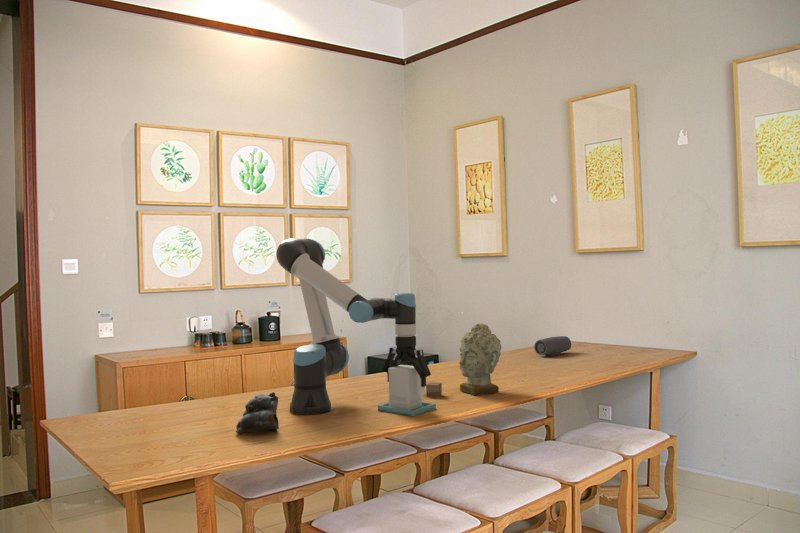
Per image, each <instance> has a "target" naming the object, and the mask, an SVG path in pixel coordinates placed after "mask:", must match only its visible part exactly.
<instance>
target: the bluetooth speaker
mask: <svg viewBox="0 0 800 533" xmlns="http://www.w3.org/2000/svg"><path fill="white" fill-rule="evenodd" d="M571 348H572V342H571V339H570V337H568V336H566V335H565V336H563V335H561V336H559V335H558V336H551V337H546V338H541V339H538V340H537V341H535V342H534V351H535V353H536V354H537V355H539V356H546V357H554V356H559V355H561V353H564V352H568V351H569V350H571Z"/></svg>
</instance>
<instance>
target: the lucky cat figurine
mask: <svg viewBox="0 0 800 533" xmlns="http://www.w3.org/2000/svg"><path fill="white" fill-rule="evenodd" d="M278 405H279V396H277V395H276V393H275V392H271V393H269V394H266V393H265V394H258V395H255V396H254V397H253V398H252V399H250V400H249V401H248V402H247V403H246V404H245V411H243V414H242V417H241V418H240V419H239V421H238V422H237V424H236V430H235V433H237V435H240V434H241V433H246V432H256V431H257V432H258V431H274V432H275V431H277V432H278V430H279V428H280V427H279V419H278V414H277V412H278V411H277V410H278Z"/></svg>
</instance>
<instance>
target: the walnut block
mask: <svg viewBox="0 0 800 533" xmlns="http://www.w3.org/2000/svg"><path fill="white" fill-rule="evenodd" d="M442 386H443V385H442V382H435V381H433V382H432V381H431V382H430V381H429V382H428V383H426V386H425V396H426V398H436V399H437V398H438V399H439V398H440V397H441V396H442V395H443V392H442V391H443V389H442V388H443V387H442Z"/></svg>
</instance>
